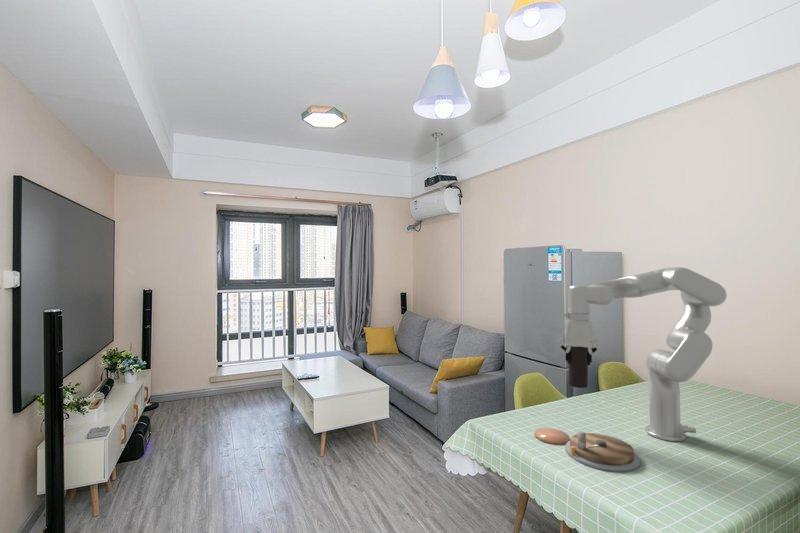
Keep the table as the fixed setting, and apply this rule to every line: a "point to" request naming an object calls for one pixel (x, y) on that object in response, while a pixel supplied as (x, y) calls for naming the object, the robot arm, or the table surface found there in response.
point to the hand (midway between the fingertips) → (578, 363)
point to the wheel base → (606, 467)
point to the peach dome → (551, 436)
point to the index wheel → (602, 448)
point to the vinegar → (578, 367)
